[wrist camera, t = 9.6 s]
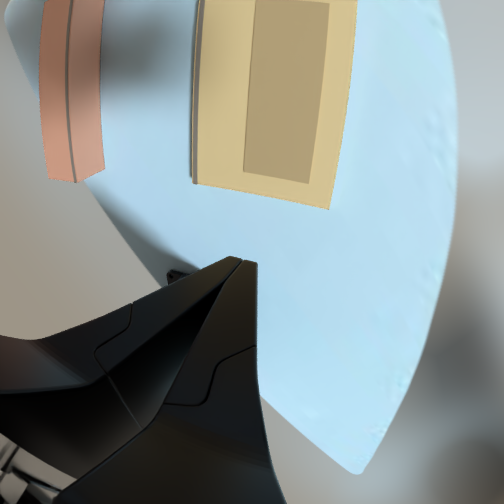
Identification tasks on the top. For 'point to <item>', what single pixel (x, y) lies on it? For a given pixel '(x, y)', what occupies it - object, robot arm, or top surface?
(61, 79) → the pink long block
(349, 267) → the top surface
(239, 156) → the tan rectangular slab
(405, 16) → the top surface
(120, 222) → the top surface
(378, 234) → the top surface
